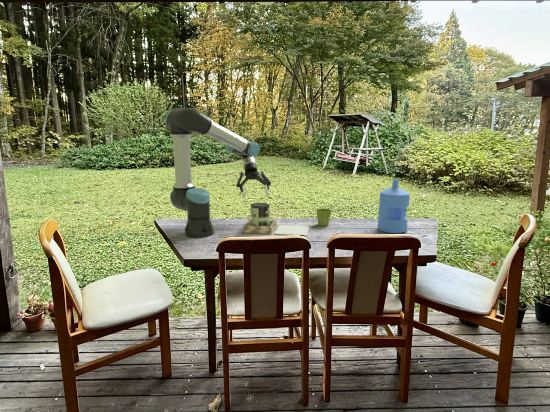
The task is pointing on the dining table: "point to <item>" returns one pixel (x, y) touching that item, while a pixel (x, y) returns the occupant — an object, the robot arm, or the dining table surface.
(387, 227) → the water jug
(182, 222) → the dining table surface
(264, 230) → the birch frame
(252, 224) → the coffee can
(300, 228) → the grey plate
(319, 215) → the plant pot
